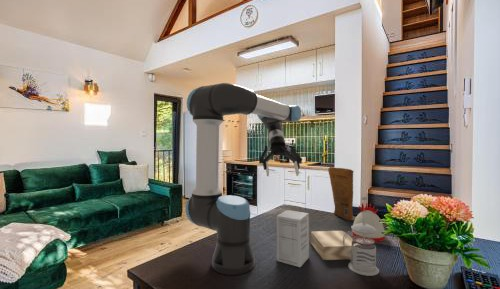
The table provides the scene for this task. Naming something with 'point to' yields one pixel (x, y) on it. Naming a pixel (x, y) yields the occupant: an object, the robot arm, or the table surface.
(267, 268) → the table surface
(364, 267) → the french press
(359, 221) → the crested helmet
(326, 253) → the oak riser
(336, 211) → the pancake mix bag
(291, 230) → the supplement box
